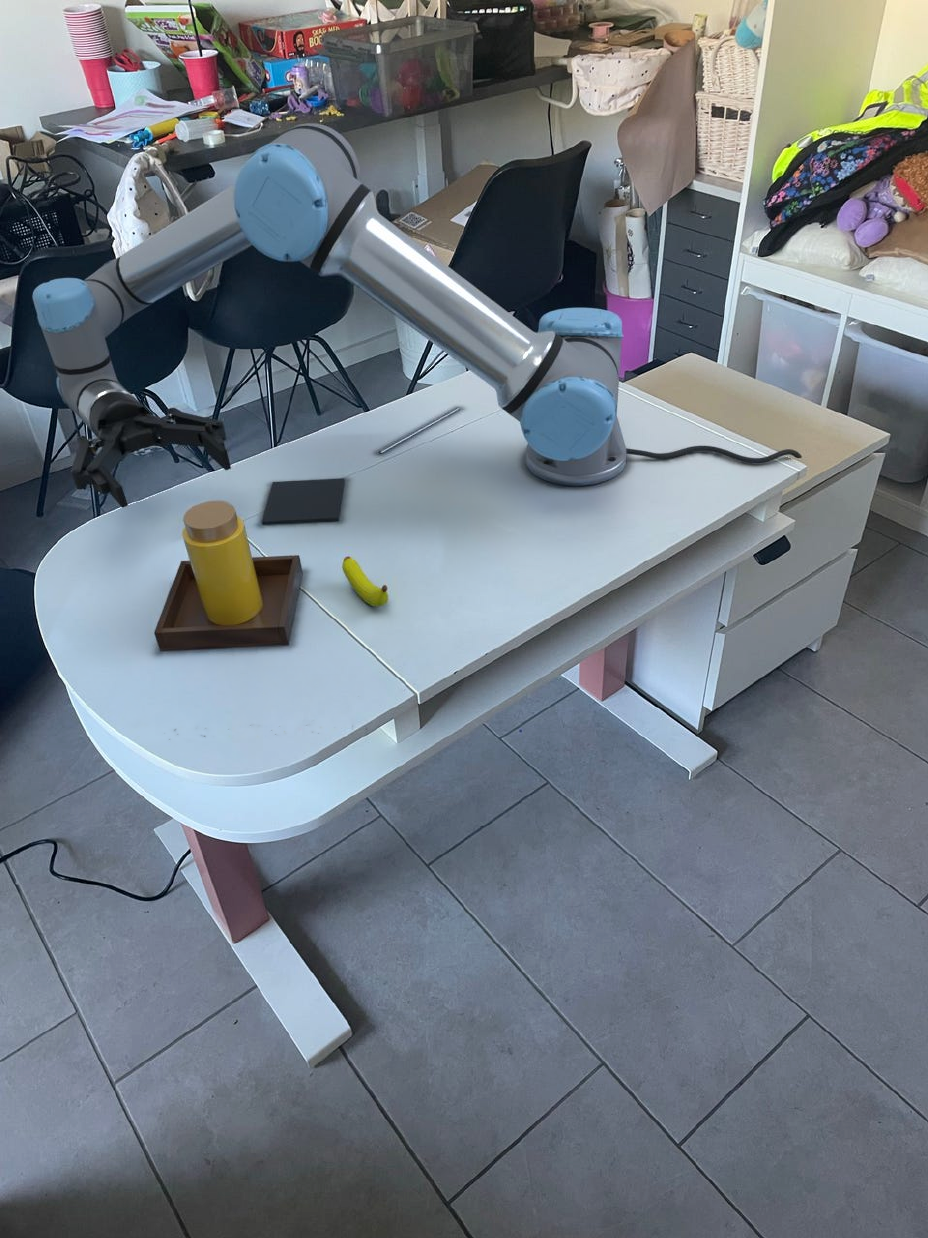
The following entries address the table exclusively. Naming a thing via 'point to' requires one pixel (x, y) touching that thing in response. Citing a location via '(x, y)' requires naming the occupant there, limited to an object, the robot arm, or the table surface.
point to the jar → (222, 563)
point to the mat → (304, 501)
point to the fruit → (364, 584)
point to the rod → (419, 430)
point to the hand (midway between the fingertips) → (175, 478)
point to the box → (270, 627)
